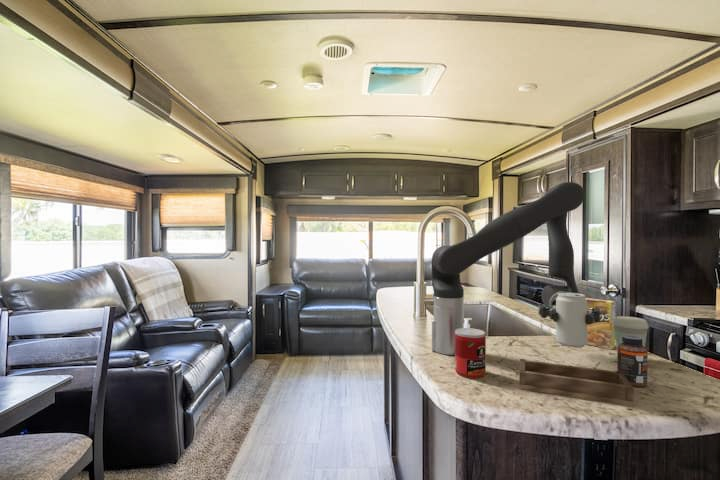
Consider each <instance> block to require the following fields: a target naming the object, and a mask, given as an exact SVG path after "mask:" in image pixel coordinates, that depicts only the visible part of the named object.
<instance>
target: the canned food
mask: <svg viewBox="0 0 720 480" xmlns="http://www.w3.org/2000/svg"><path fill="white" fill-rule="evenodd" d="M486 344H487V337H486V332H485V331H484V330H482V329H478V328H472V327H464V328H459V329H456V330H455V355H454V369H455V370H454V371H455V373H456V374H457V375H459V376H460V377H464V378H468V379H481V378H483V377H484V376H485V375H486V370H487V369H486V366H487V365H486V363H487V362H486V360H487V359H486V356H487V355H486V353H487V350H486V349H487V347H486V346H487V345H486Z"/></svg>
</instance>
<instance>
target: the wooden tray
mask: <svg viewBox="0 0 720 480" xmlns="http://www.w3.org/2000/svg"><path fill="white" fill-rule="evenodd" d="M518 373H519V375H518V376H519V377H518V379H519V380H518V381H519V383H518V385H519V389H520V390H526V391H530V392H531V391H532V392H537V393H544V394H551V395H556V396H557V395H558V396H562V397H563V396H564V397H569V398H577V399H583V400H588V401H589V400H590V401H594V402H601V403H607V404H614V405H618V406H619V405H621V406H626V407H633V408H634V406H635V389H634V388H635V387H634V386H632V385H631V384H630V383H629V381H628V380H627V378H626V377H625V376H624V374H623V373H622V372H621V371H617V370H607V369H597V368H592V367H583V366H575V365H569V364H568V365H567V364H560V363H559V364H558V363H550V362H543V361H535V360H527V359H525V358H519V372H518Z"/></svg>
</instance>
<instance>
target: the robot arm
mask: <svg viewBox="0 0 720 480" xmlns="http://www.w3.org/2000/svg"><path fill="white" fill-rule="evenodd" d="M585 197H586V195H585V189H584V187H582V185H580V184H579V183H578V182H573V181H565V182H561V183H559V184H557V185H554V186H553V187H550V188H549V189H547V191H546V192H545V193H544V195H543V196H541V197H539V198H538V199H536V200H534V201H532V202H529V203H526V204H524V205H520V206H519V207H516V208H514V209H511V210H510V211H507V212H505V213H503V214H501V215H499V216H497V217H496V218H494V219H493V220H491V221H489V222H487V224H485V225H484V226H483V227H482V228H481V229H479V230H478V232H477V233H475V234H474V235H473V236H470V237H469V238H466V239H464V240H462V241H460V242H457V243H454V244H452V245H442V246H439V247H437V248H436V249H435V250H434V252H433V254H432V257H431V285H432V288H433V289H432V290H433V319H432V321H431V351H432V352H436V353H439V354H442V355H446V356H447V355H450V356H455V330H456V329H459V328H465V327H464V326H465V325H464V321H465V320H464V319H465V318H464V317H465V316H464V314H465V311H464V305H465V303H464V301H465V300H464V299H465V298H464V295H465V293H464V288H463V286H462V282H461V273H463V272H464V271H465V270H467V269H468V268H469V267H471V266H473V265H474V264H475V263H476V264H477V262H478V261H480V260H482V259H483V258H485V257H486V256H488V255H491V254H494V253H496V252H497V251H499V250H501V249H503V248H506V247H508V246H509V245H512V244H514V243H515V242H516V241H519V240H521V239H522V238H524V237H526V236H527V235H529V234H530V233H532V232H534V231H535V230H536V229H538V228H540V227H541V226H542V225H543V226H544V224H546V229H547V238H548V239H547V240H548V267H547V268H548V272H547V273H548V275H549V276H550V277H552V278H555V279H559V280H563V281H564V282H565V284H566V285H555V284H552V285H549V284H547V285H546V286H544V287H543V289H542V291H541V296H540V297H541V300H542V303H538V304H537V309H538V310H537V314H538V315H539V316H540V317H541V318H542V319H546V318H547V319H548V317H549V319H550V320H553V322H555V323H556V322H557V311H556V298H557V297H558V293H578V294H580V292H579V289H578V286H577V282H576V278H575V268H574V267H575V260H574V259H575V254H574V247H573V244H572V241H571V239H570V236H569V233H568V228H567V217H568V212H571V211H574V210H576V209H578V208H579V207H580V206H581V205H582V204H583V202H584V200H585ZM594 321H595V322H600V308H598V307H595V308H592V310H587V324H589V325H591V323H594Z"/></svg>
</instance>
